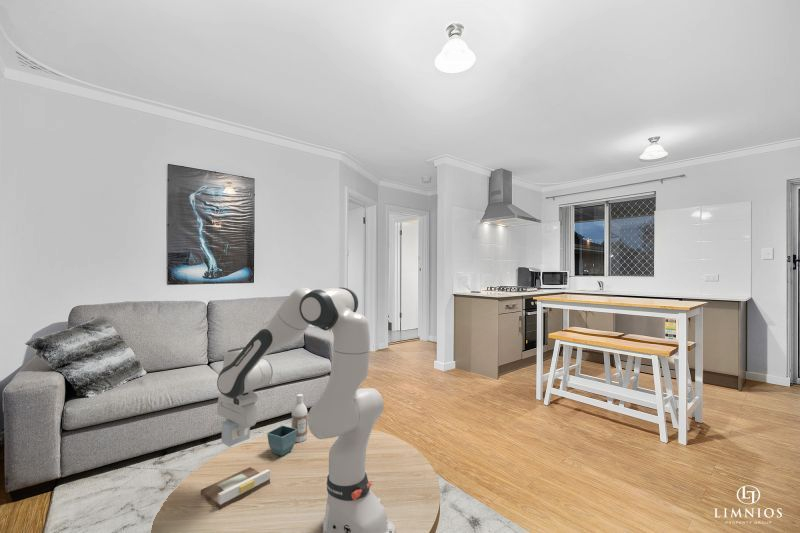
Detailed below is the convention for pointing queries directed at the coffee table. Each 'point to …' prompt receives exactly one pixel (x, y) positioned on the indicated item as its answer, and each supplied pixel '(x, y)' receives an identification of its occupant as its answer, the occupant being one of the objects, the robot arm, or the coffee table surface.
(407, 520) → the coffee table surface
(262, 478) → the price rail
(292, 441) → the flower pot
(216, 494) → the shelf board
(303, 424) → the bath foam
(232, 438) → the product carton
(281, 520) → the coffee table surface
